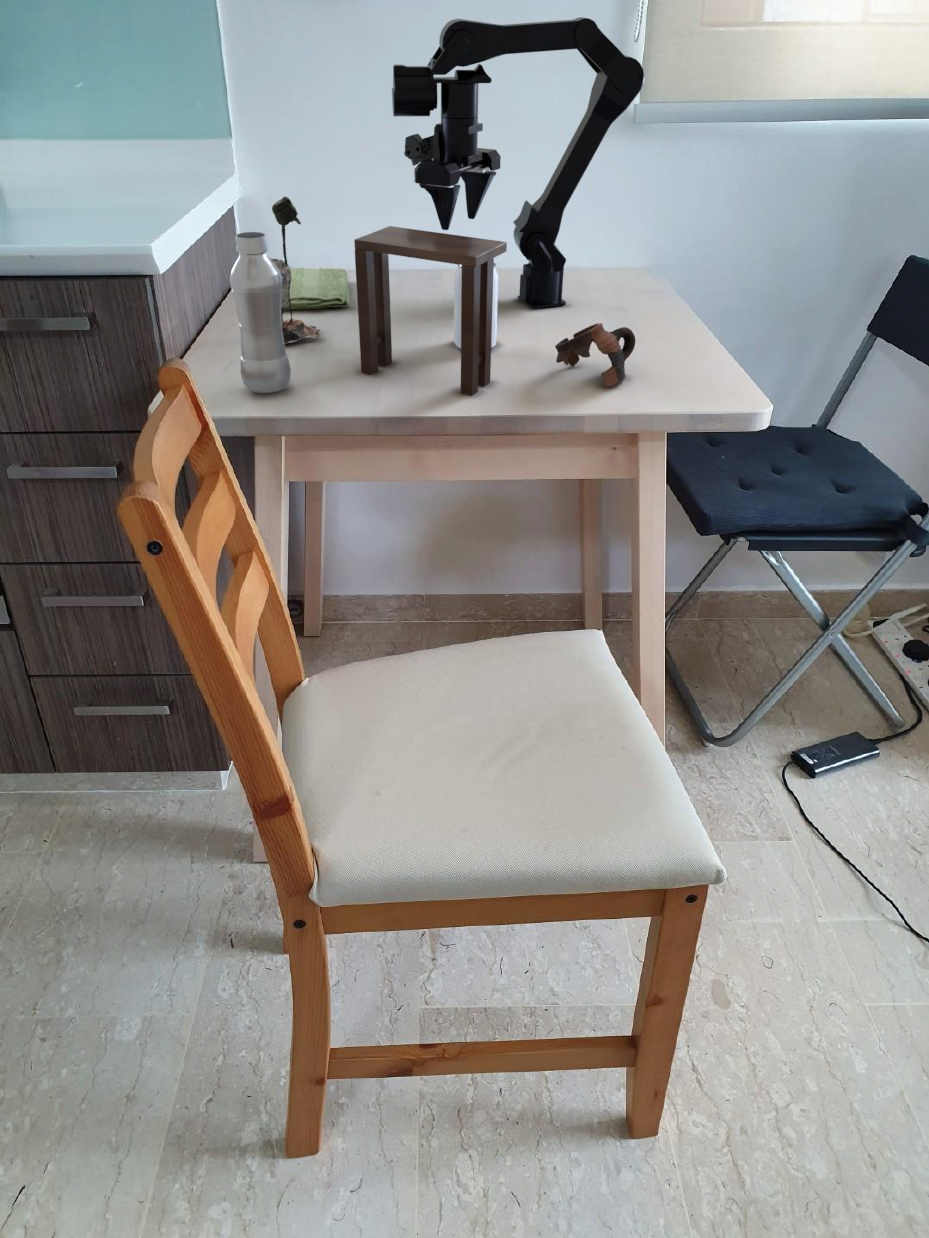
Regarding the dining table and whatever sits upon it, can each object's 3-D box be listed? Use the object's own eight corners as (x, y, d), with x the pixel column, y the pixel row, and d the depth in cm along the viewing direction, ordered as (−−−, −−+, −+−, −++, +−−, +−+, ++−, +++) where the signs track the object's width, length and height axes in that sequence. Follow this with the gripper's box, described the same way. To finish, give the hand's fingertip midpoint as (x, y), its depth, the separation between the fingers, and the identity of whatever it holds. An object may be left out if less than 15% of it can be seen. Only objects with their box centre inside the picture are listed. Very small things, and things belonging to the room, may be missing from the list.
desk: (394, 353, 138) (389, 226, 128) (502, 374, 132) (506, 242, 121) (360, 372, 132) (353, 240, 121) (472, 396, 125) (475, 257, 115)
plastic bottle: (245, 381, 128) (225, 229, 117) (294, 380, 129) (279, 229, 117) (240, 399, 123) (219, 241, 112) (291, 398, 124) (275, 241, 112)
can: (492, 354, 139) (494, 271, 132) (450, 350, 140) (450, 268, 133) (499, 340, 144) (502, 260, 137) (458, 337, 145) (459, 257, 138)
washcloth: (271, 312, 154) (269, 293, 152) (279, 282, 168) (277, 264, 166) (351, 311, 155) (349, 291, 153) (351, 281, 169) (350, 263, 167)
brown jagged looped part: (595, 398, 126) (571, 341, 124) (560, 405, 135) (536, 352, 132) (659, 359, 130) (637, 304, 127) (621, 369, 138) (599, 317, 136)
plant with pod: (250, 330, 146) (233, 194, 135) (322, 329, 147) (311, 193, 135) (244, 348, 140) (225, 206, 128) (319, 346, 140) (308, 205, 129)
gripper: (442, 106, 152) (442, 208, 161) (382, 119, 138) (386, 230, 147) (503, 111, 148) (500, 215, 157) (448, 125, 134) (448, 238, 143)
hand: (458, 224), depth 151 cm, fingers open, 9 cm apart
